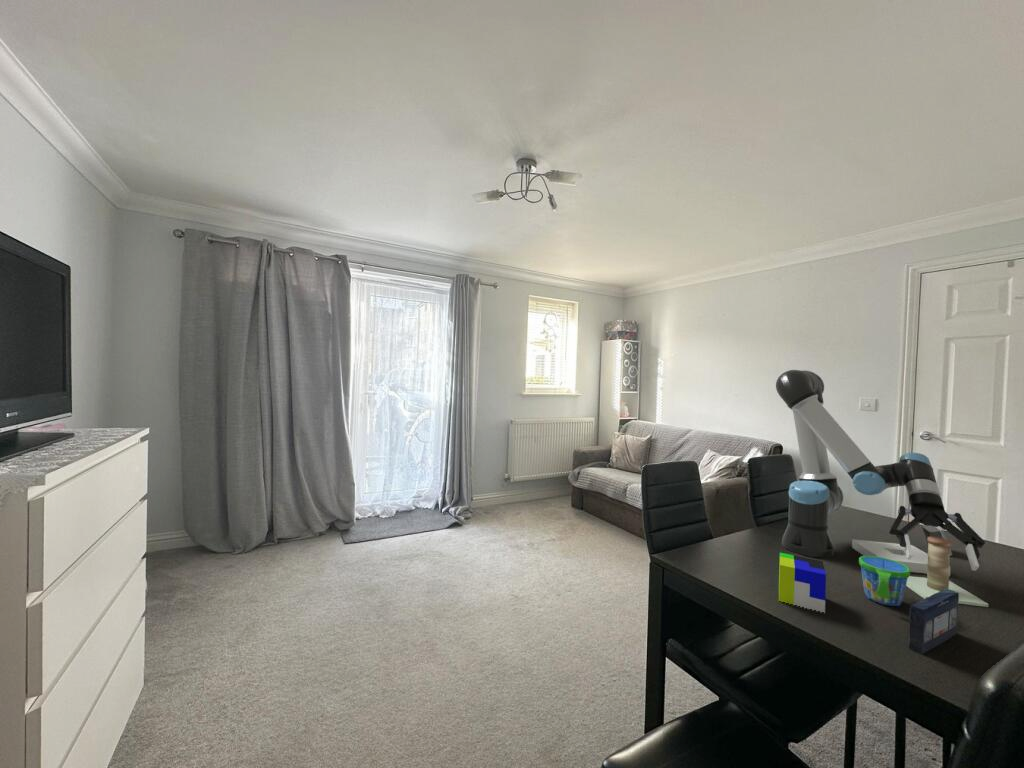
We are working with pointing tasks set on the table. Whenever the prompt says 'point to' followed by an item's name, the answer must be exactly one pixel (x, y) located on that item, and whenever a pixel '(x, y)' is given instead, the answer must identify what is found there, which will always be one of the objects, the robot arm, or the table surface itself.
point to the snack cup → (884, 579)
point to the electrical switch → (934, 533)
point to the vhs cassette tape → (933, 620)
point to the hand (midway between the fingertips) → (941, 562)
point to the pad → (924, 591)
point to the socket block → (894, 554)
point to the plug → (938, 563)
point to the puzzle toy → (802, 582)
